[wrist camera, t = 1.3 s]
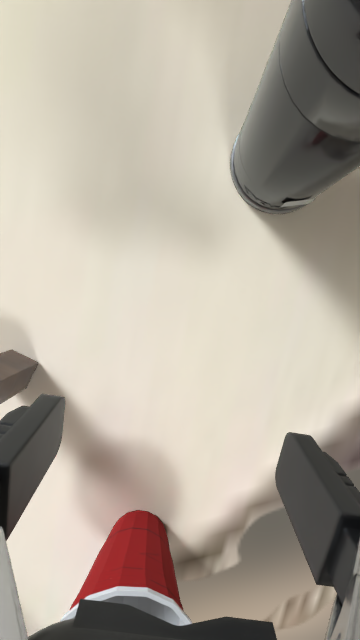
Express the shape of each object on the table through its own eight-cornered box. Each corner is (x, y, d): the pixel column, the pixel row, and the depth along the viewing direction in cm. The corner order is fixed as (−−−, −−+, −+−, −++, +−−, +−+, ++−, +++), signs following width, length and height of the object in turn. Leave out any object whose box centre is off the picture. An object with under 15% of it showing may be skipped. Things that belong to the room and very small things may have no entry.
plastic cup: (195, 578, 34) (205, 735, 22) (95, 585, 34) (49, 746, 22) (189, 482, 33) (196, 591, 21) (86, 489, 33) (34, 602, 21)
